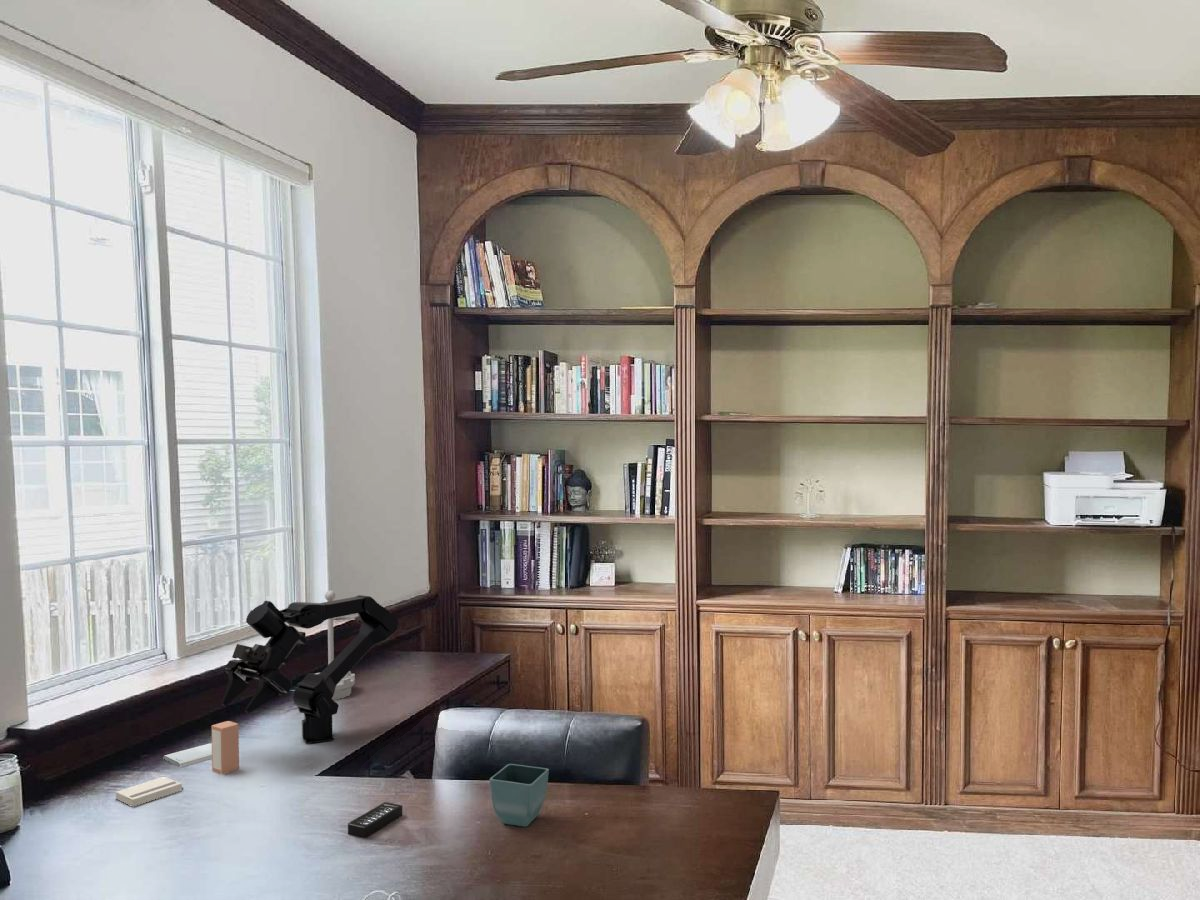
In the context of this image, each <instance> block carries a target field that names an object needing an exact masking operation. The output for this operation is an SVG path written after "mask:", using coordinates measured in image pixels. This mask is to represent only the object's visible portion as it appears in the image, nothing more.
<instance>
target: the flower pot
mask: <svg viewBox="0 0 1200 900" xmlns="http://www.w3.org/2000/svg"><path fill="white" fill-rule="evenodd" d="M549 771H550V769H549V768H547V767H546V768H545V767H539V766H531V765H523V764H516V763H508V764H506V765H505V766H504V767H502V768H501V769H500V770H499V771H498V772H496V773H495V774H494V775H492V776H491V777H490V778H489V787H490V795H491V802H492V807H493V810H494V811H495V812H494V813H496V816H497V817H498V819H499V820H500V822H501V823H503V824H505V825H512V826H518V827H528V826H529V825H530V824H531V823H532V822H533V821H534V820H535V819H537V817H538V815H539V813H540V811H541V809H542V807H543V806H544V802H545V799H546V796H547V789H548V781H549V773H550V772H549Z"/></svg>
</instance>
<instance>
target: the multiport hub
mask: <svg viewBox="0 0 1200 900" xmlns="http://www.w3.org/2000/svg"><path fill="white" fill-rule="evenodd" d="M399 817H400V818H402V817H403V805H401V804H398V803H392V802H387V801H385V802H384V801H383V802H382V803H381V804H379V805H377V806H376V807H374V808H372V809H370V810H368V811H367V812H364V813H363V814H362V815H360V816H358V817H357V818H355V819H353V820H351V821H349V822H348V823H347V835H348V836H354V837H358V838H362V839H367V838H369V837H371V836H373V835H374V834H376V833H377V832H379V831H380V830H382V829H384V828H385V827H387V826H388V824H389V825H390V824H391V822H392V823H394V822H395V821H397V820H398V819H400V818H399ZM396 819H397V820H396Z"/></svg>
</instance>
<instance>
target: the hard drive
mask: <svg viewBox="0 0 1200 900" xmlns="http://www.w3.org/2000/svg"><path fill="white" fill-rule="evenodd" d="M162 759H163V760H164V759H165V760H167V761H169V762H170V763H169V762H168V763H169V764H171V763H172V765H173V764H174V765H173V766H175V765H176V766H175V767H177V766H178V767H177V768H179V767H181V768H183V767H187V765H188V766H191V765H194V764H198V763H201V762H205V761H209V760H212V742H211V743H206V744H203V745H199V746H195V747H191V748H188V749H184V750H180V751H175V752H172V753H169V754H166V755H163V757H162ZM165 760H164V761H165ZM167 761H166V762H167Z"/></svg>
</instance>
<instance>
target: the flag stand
mask: <svg viewBox="0 0 1200 900" xmlns="http://www.w3.org/2000/svg"><path fill="white" fill-rule="evenodd" d="M324 598H325V599H326V602H329V601H334V599H336V592H335V591H334V590H331V589H330V590H327V591H326V592H325V594H324ZM334 644H335V642H334V618H331V619H327V649H328V650H327V659H328V660H327V661H328V662H327V663H328V664H327V666H328V665H329V664H330V663H331V662H332V661H333V660H334V659H335V658H334V657H335V652H334V651H335V647H334ZM320 673H321V672H316V673H314V674H320ZM355 683H356V676H355V673H352V671H351V670H350V671H349V672H348V673H347V674H346V675H345V676H344V677H343V679H342V680H341V681H340V682H339V683H338V684H337V685H336V688H335V692H334V695H333V697H332V700H334V701H335V700H340V698H341V699H344V697H345V698H347V697H346V696H348V697H349V696H351V695H352V687H353V686H355ZM350 694H351V695H350Z"/></svg>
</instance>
